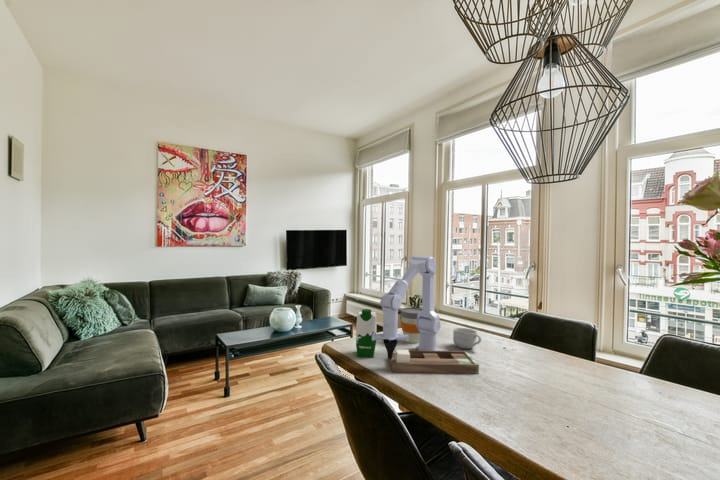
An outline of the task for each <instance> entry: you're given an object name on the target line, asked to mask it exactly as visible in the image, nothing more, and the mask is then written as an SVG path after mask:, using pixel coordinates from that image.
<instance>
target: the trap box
mask: <svg viewBox="0 0 720 480" xmlns="http://www.w3.org/2000/svg"><path fill="white" fill-rule="evenodd" d="M407 350H408V349H407ZM408 351H409V353H410V363H396V352H393V355H392V359H389V361H390V364H391V365H390V366H391V372H392V373H419V374H420V373H427V374H428V373H429V374H431V373H432V374H433V373H436V374H479V373H480V364H479V363H478V362H477V361H476V360H475V359H474V357H472V356H471V355H470V353H468V352H467V350H436V351H423V350H418V349H417V350H415V349H413V350H410V349H409V350H408Z"/></svg>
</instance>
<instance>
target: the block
mask: <svg viewBox="0 0 720 480" xmlns="http://www.w3.org/2000/svg"><path fill="white" fill-rule="evenodd" d="M395 353H396V363H410V353H409V351H408V349H395Z"/></svg>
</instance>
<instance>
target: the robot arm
mask: <svg viewBox="0 0 720 480" xmlns="http://www.w3.org/2000/svg"><path fill="white" fill-rule="evenodd" d="M408 265H409V266H408V268H407V269H406V271H405V273H404V274H403V275H402V277H401V279H397V280H396V281H395V282H394V284H393V286H391V288H390V290H389V291H388V292H387V293H385V294H383V295H382V296H381V299H380V301H379V302H380V303H379V304H380V306H381V311H382V313H383V314H382V315H383V318H382V321H383V322H382V333H376V334H372V341H374V340H376V341H383V344H384V346H385V349H386V353H387V359H388V360H390V359H392V355H393V353H395V350H396V347H397V345H398V341H404V340H406V341H409V336H408V335H403V333H398V326H399V325H398V324H399V323H398V322H399V318H398V317H399V314H398V313H399V309H400V308H401V306H402V303H403V302H402V301H403V297H404V296H405V295H406V293H407V292H408V290H409V284H410V283H411V282H412V281H413V279H414V278H415V277H416V276H417V275H418V274H420V275H421V276H422V292H421V293H422V294H421V297H422V298H421V299H422V300H421V309H422V311H421V312H419V313H418V315H417V320H416V327H417V328H418V329H419V330H418V331H420V333H419V343H418V345H417V346H416V348H417V350H423V351H437V347H436V346H437V334H438V333H439V331H440V329H441V321H440V315H439V314H438V313H436V311H435V279H436V276H435V275H436V273H437V271H436V270H437V261H436V259H435V258H434V257H433V256H424V255H423V256H422V255H412V256H411V258H410V259H409V261H408ZM406 341H405V342H406Z"/></svg>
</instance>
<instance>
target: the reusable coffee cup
mask: <svg viewBox="0 0 720 480" xmlns="http://www.w3.org/2000/svg"><path fill="white" fill-rule="evenodd" d="M421 311H422V308H419V307H404V308H402V309H401V310H400V316H401V320H400V324H401V331H402V334H403V335H408V336H409V341H406V340H403V341H404V342H406V343H410V344H419V333H420V331H418V330H419V329H418V328H417V327H416V320H417V315H418V313H419V312H421Z"/></svg>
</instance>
